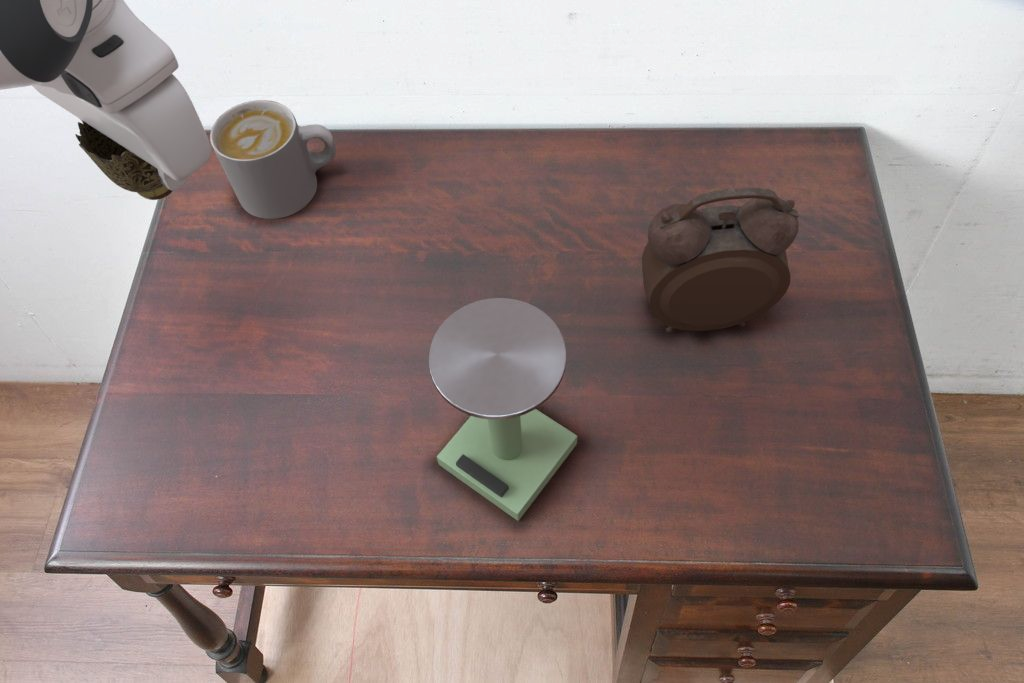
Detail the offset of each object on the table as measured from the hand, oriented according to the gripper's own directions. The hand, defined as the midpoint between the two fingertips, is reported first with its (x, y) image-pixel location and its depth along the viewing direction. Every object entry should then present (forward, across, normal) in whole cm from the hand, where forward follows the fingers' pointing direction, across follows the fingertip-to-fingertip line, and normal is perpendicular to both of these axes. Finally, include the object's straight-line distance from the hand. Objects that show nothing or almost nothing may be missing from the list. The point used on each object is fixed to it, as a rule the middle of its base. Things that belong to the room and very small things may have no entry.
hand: (145, 164), depth 71 cm
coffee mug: (+24, -8, +18) cm, 30 cm away
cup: (+3, 0, 0) cm, 3 cm away
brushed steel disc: (+5, +36, +4) cm, 37 cm away
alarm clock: (+24, +43, +30) cm, 58 cm away
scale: (+24, +36, +4) cm, 43 cm away
